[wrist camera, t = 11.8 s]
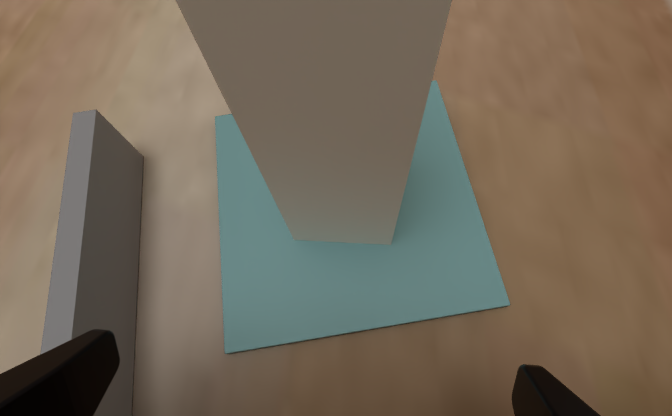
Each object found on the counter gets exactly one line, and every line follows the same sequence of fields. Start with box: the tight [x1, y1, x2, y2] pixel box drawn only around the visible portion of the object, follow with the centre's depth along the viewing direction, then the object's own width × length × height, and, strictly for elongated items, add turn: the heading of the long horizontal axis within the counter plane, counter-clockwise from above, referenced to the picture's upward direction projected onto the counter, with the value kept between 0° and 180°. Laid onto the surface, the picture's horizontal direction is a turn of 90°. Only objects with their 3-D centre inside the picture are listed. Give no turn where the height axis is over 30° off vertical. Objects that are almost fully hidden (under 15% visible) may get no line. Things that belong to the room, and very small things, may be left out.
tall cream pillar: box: [176, 0, 452, 245], centre depth 12 cm, size 4×4×13 cm
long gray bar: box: [40, 110, 143, 416], centre depth 16 cm, size 15×1×4 cm, turn 9°
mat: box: [215, 81, 510, 354], centre depth 19 cm, size 12×12×1 cm
